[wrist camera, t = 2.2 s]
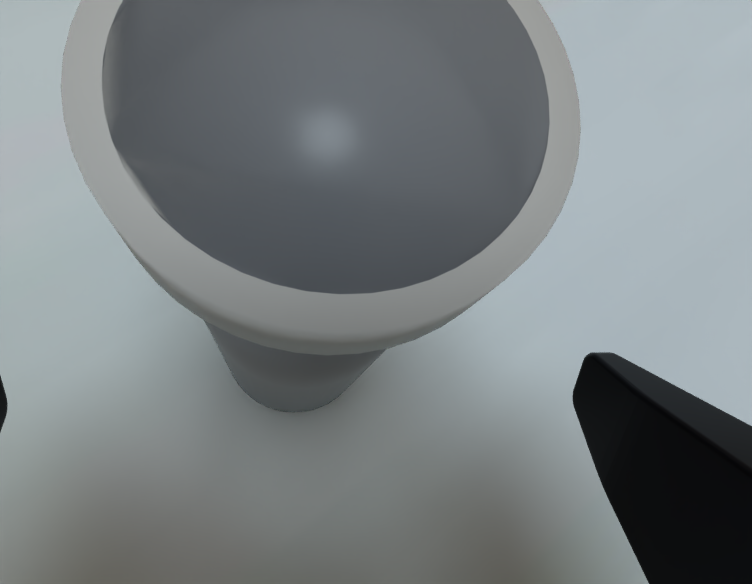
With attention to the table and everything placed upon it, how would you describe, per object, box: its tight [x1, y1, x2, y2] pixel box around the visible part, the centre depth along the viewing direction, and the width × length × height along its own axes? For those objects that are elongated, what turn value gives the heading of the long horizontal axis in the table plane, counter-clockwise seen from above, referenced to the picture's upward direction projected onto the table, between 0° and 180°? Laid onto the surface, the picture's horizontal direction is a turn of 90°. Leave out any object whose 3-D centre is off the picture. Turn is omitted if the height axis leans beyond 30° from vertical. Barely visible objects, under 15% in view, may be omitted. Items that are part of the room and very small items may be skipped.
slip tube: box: [61, 0, 581, 412], centre depth 12 cm, size 5×5×14 cm
